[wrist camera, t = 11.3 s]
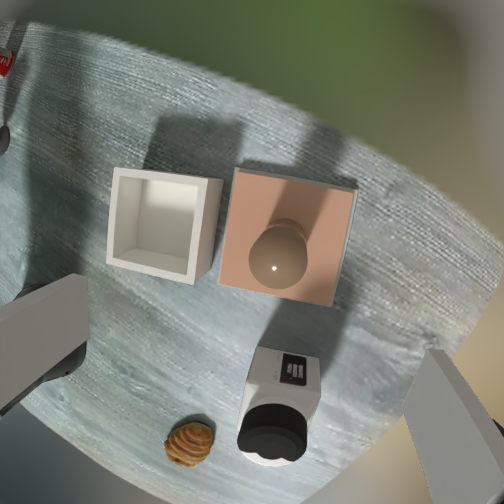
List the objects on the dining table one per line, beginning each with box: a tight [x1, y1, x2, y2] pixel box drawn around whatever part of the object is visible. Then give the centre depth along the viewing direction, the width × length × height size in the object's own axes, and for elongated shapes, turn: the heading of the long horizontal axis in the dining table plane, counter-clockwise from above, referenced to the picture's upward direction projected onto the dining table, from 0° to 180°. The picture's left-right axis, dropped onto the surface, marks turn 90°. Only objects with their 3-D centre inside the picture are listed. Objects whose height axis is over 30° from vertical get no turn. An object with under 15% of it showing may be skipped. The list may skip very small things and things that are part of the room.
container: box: [236, 346, 321, 466], centre depth 31 cm, size 8×8×13 cm
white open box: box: [106, 167, 224, 285], centre depth 32 cm, size 10×10×6 cm
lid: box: [219, 172, 354, 306], centre depth 28 cm, size 12×12×10 cm
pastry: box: [164, 422, 213, 467], centre depth 41 cm, size 9×7×4 cm
